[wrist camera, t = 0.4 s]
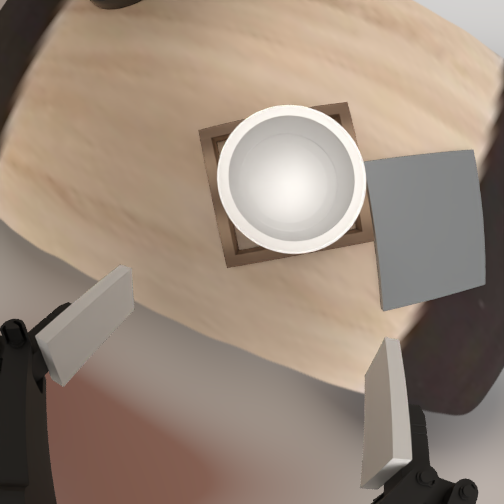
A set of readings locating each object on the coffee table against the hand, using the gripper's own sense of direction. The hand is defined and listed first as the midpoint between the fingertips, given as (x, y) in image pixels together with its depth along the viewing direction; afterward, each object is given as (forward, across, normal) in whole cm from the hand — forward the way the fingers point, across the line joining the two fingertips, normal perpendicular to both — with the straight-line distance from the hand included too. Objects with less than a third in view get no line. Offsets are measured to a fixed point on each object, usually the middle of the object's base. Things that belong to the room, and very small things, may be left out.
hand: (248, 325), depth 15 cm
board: (+26, +17, 0) cm, 31 cm away
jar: (+24, -2, +1) cm, 24 cm away
